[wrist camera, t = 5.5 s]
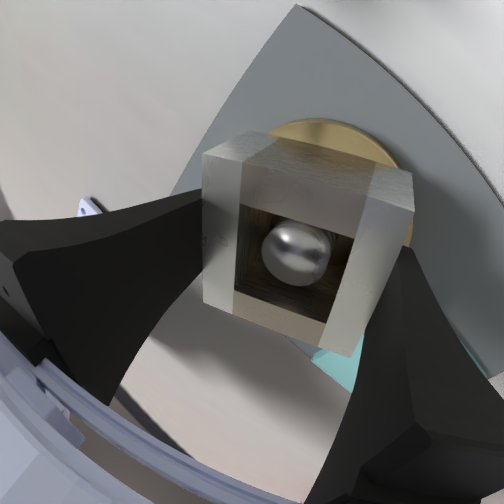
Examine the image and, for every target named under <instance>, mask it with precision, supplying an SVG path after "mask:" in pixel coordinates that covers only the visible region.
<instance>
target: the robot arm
mask: <svg viewBox="0 0 504 504" xmlns="http://www.w3.org/2000/svg"><path fill="white" fill-rule="evenodd" d="M202 270H203V253H202V188H200V189H196V190H192V191H188V192H184V193H180V194H177V195H173V196H170V197H166V198H163V199H159V200H156V201H152V202H148V203H144V204H140V205H137V206H133V207H129V208H125V209H121V210H116V211H111V212H106V213H103V212H102V211H101V210H100V209H99V208H98V207H97V206H96V205H95V204H94V203H93V202H92V201H91V200H90V199H89V198H88V197H85V198H83V199H81V201H80V205H79V210H78V215H77V217H73V218H65V219H53V220H4V221H1V222H0V504H154V503H153V502H151V501H149V500H148V499H146V498H144V497H143V496H141V495H139V494H138V493H137V492H135V491H134V490H132V489H130V488H129V487H127V486H126V485H125V484H123V483H122V482H120V481H118V480H117V479H116V478H114V477H113V476H111V475H110V474H109V473H107V472H106V471H105V470H103V469H102V468H101V467H99V466H98V465H97V464H95V463H94V462H93V461H92V460H90V459H89V458H88V457H87V456H85V455H84V454H83V453H82V452H80V451H79V450H78V448H79V446H80V445H81V444H82V443H83V441H84V440H85V436H84V435H83V434H82V433H81V432H80V431H79V430H78V429H77V428H76V427H75V426H74V425H73V424H72V423H70V421H69V411H70V412H72V413H73V414H74V415H75V416H76V417H78V418H79V419H80V420H81V421H82V422H84V423H85V424H86V425H88V426H89V427H90V428H91V429H93V430H94V431H95V432H97V433H98V434H99V435H101V436H102V437H103V438H105V439H106V440H107V441H109V442H110V443H112V444H113V445H114V446H116V447H117V448H119V449H120V450H122V451H123V452H124V453H126V454H128V455H129V456H130V457H132V458H134V459H135V460H137V461H138V462H140V463H141V464H143V465H145V466H146V467H148V468H150V469H151V470H153V471H155V472H156V473H158V474H159V475H161V476H163V477H165V478H166V479H168V480H170V481H172V482H173V483H175V484H177V485H179V486H181V487H182V488H184V489H186V490H188V491H190V492H192V493H194V494H196V495H198V496H200V497H202V498H204V499H206V500H208V501H210V502H213V503H215V504H300V503H297V502H294V501H291V500H288V499H285V498H282V497H279V496H276V495H274V494H271V493H268V492H266V491H263V490H260V489H258V488H255V487H253V486H250V485H248V484H246V483H243V482H241V481H238V480H236V479H234V478H232V477H229V476H227V475H225V474H223V473H221V472H218V471H216V470H214V469H212V468H210V467H208V466H206V465H204V464H202V463H200V462H198V461H196V460H194V459H192V458H190V457H188V456H186V455H184V454H183V453H181V452H179V451H177V450H175V449H173V448H172V447H170V446H168V445H166V444H165V443H163V442H161V441H159V440H158V439H156V438H154V437H153V436H151V435H149V434H148V433H146V432H144V431H143V430H141V429H140V428H138V427H136V426H135V425H134V424H132V423H130V422H129V421H127V420H126V419H124V418H123V417H121V416H120V415H118V414H117V413H115V412H114V411H113V410H111V409H110V408H108V407H107V406H109V405H110V402H111V400H112V398H113V396H114V394H115V392H116V390H117V388H118V386H119V384H120V383H121V381H122V379H123V377H124V375H125V373H126V371H127V370H128V368H129V366H130V364H131V363H132V361H133V359H134V358H135V356H136V354H137V353H138V351H139V349H140V348H141V346H142V345H143V343H144V342H145V340H146V339H147V337H148V336H149V334H150V332H151V331H152V330H153V328H154V327H155V325H156V324H157V323H158V321H159V320H160V318H161V317H162V315H163V314H164V313H165V312H166V310H167V309H168V308H169V307H170V305H171V304H172V303H173V302H174V301H175V300H176V299H177V298H178V297H179V296H180V294H181V293H182V292H183V291H184V290H185V289H186V288H187V287H188V286H189V285H190V284H191V282H192V281H193V280H194V279H195V278H196V277H197V276H198V275H199V274H200V273H201V272H202ZM503 488H504V400H503V398H502V397H501V396H500V395H499V393H498V392H497V391H496V390H495V389H494V387H493V386H492V385H491V384H490V382H489V381H488V380H487V378H486V377H485V376H484V375H483V373H482V372H481V371H480V369H479V368H478V366H477V365H476V363H475V362H474V361H473V359H472V358H471V356H470V355H469V354H468V352H467V351H466V349H465V348H464V346H463V345H462V343H461V342H460V340H459V338H458V337H457V335H456V333H455V332H454V330H453V329H452V327H451V325H450V324H449V322H448V320H447V318H446V317H445V315H444V313H443V311H442V309H441V307H440V305H439V303H438V302H437V300H436V298H435V296H434V294H433V292H432V290H431V288H430V285H429V283H428V281H427V279H426V277H425V275H424V273H423V271H422V268H421V266H420V264H419V262H418V260H417V257H416V255H415V253H414V251H413V249H412V248H409V247H406V246H403V245H402V248H401V250H400V253H399V255H398V258H397V259H396V262H395V264H394V267H393V269H392V271H391V274H390V276H389V278H388V281H387V283H386V285H385V288H384V290H383V292H382V294H381V296H380V299H379V301H378V303H377V305H376V307H375V309H374V312H373V314H372V316H371V318H370V320H369V322H368V324H367V326H366V328H365V333H364V339H363V344H362V350H361V355H360V361H359V366H358V371H357V376H356V380H355V384H354V388H353V391H352V394H351V397H350V400H349V403H348V406H347V409H346V411H345V414H344V417H343V419H342V422H341V425H340V427H339V430H338V432H337V435H336V437H335V440H334V442H333V444H332V447H331V449H330V451H329V454H328V456H327V458H326V460H325V463H324V465H323V467H322V469H321V471H320V473H319V475H318V477H317V479H316V481H315V483H314V485H313V487H312V489H311V491H310V493H309V495H308V497H307V499H306V500H305V502H304V504H480V503H481V499H482V498H484V497H487V496H489V495H491V494H493V493H495V492H497V491H499V490H501V489H503Z"/></svg>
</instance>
